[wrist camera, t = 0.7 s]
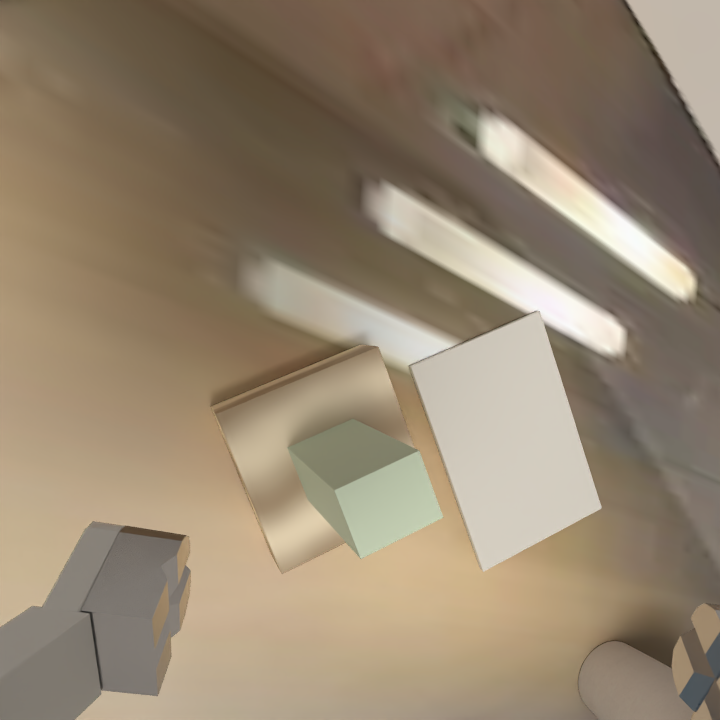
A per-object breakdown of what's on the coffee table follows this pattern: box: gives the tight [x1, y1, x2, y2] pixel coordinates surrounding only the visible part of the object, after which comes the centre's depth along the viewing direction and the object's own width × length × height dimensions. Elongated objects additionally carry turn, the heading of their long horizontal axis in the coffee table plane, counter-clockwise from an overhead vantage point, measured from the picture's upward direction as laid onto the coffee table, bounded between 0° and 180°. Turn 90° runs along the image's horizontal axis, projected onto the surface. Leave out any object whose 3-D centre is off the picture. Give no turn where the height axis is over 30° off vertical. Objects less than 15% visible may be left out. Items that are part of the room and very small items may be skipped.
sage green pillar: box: [287, 419, 443, 559], centre depth 42 cm, size 4×5×12 cm
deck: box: [211, 345, 415, 574], centre depth 49 cm, size 12×12×4 cm
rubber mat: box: [409, 311, 601, 572], centre depth 56 cm, size 18×12×1 cm, turn 20°
